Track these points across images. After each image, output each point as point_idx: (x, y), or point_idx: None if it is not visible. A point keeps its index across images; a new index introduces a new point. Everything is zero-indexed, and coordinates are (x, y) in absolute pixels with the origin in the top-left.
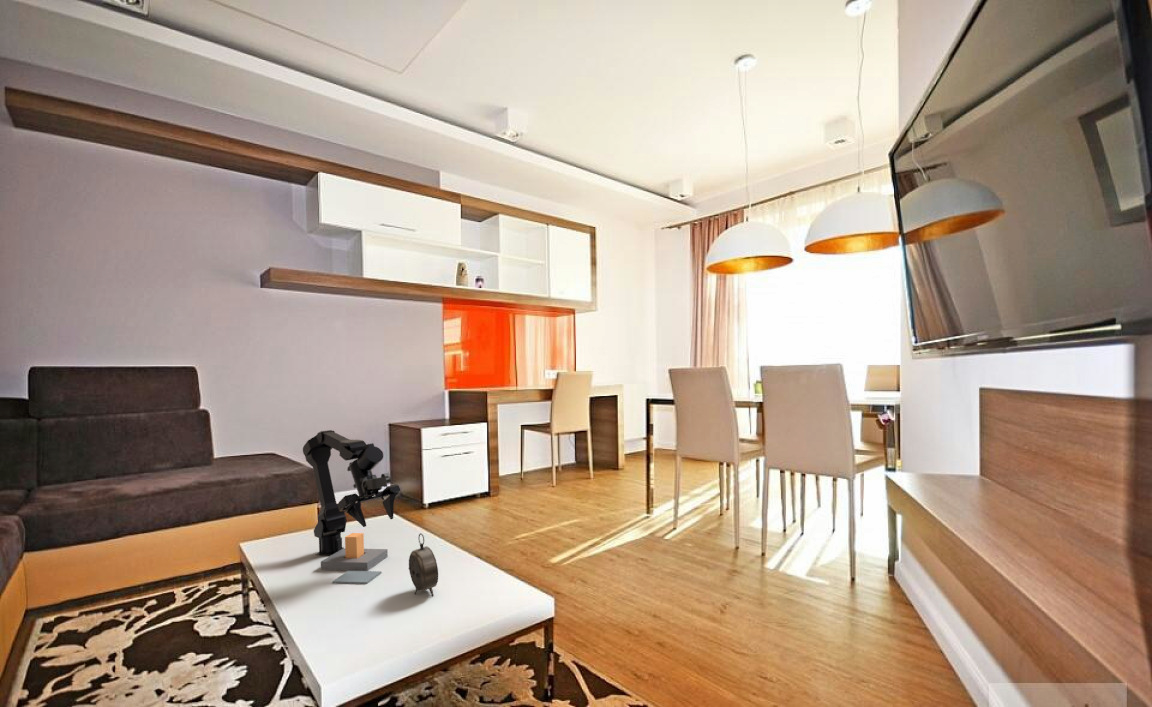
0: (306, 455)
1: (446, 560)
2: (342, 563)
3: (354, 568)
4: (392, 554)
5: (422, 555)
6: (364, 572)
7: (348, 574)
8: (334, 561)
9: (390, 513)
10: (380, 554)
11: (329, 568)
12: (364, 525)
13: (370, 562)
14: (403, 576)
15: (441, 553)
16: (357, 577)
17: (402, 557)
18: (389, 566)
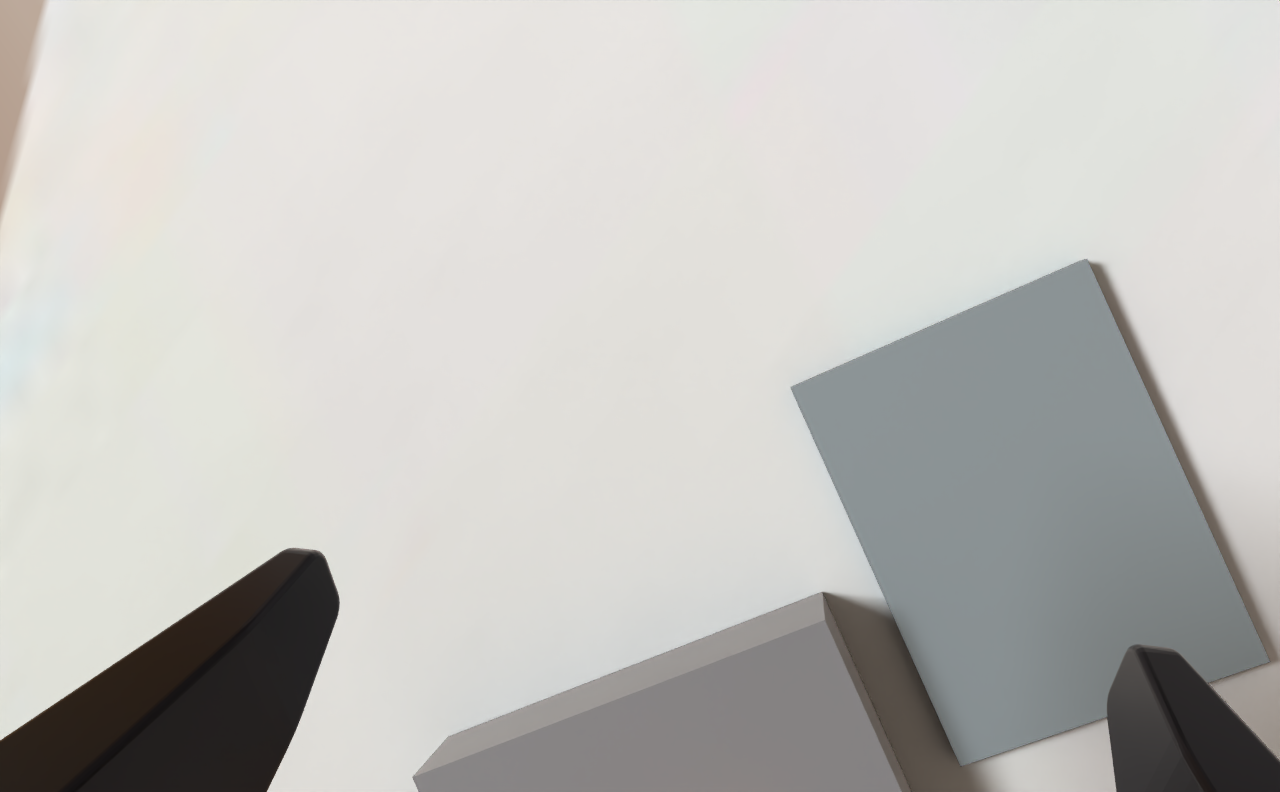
0: None
1: (218, 48)
2: None
3: (890, 748)
4: (380, 743)
5: None
6: (904, 543)
7: (1036, 664)
8: None
9: (246, 664)
10: (555, 719)
11: None
12: (1181, 675)
13: (760, 637)
14: (733, 79)
15: (116, 268)
16: (1046, 484)
17: (384, 565)
18: (620, 474)
